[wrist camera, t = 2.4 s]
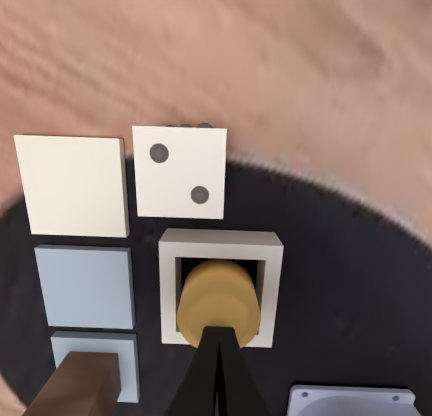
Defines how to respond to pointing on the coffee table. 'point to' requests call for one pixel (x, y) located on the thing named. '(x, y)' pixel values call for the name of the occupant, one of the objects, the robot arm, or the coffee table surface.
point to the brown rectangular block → (80, 387)
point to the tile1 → (87, 286)
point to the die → (180, 171)
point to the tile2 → (74, 185)
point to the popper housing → (225, 249)
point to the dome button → (218, 301)
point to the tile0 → (105, 344)
